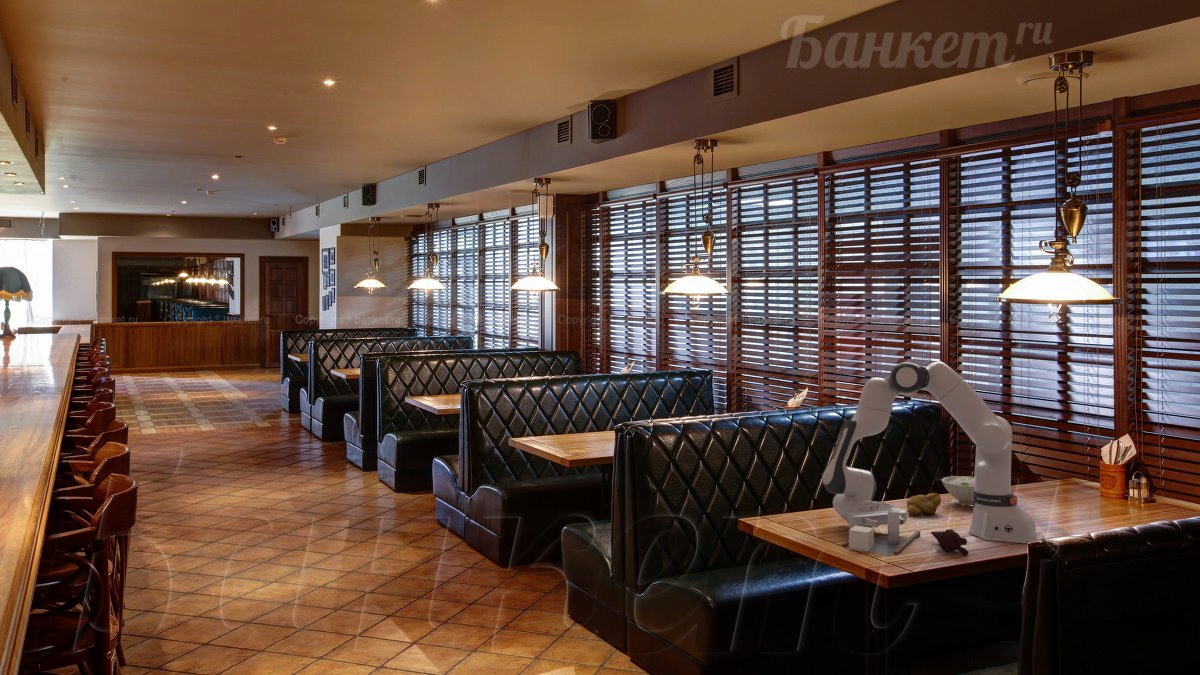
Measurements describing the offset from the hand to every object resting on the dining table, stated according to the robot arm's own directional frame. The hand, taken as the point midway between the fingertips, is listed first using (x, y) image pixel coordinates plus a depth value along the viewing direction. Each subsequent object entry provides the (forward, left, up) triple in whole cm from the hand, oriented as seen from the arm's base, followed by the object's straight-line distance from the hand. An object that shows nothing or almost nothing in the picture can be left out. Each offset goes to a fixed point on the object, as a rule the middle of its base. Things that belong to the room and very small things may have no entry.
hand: (889, 523), depth 290 cm
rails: (+2, 0, -7) cm, 7 cm away
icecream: (-18, -3, -7) cm, 19 cm away
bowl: (-11, -70, -7) cm, 71 cm away
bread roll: (+1, -46, -7) cm, 47 cm away
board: (+2, +7, -7) cm, 10 cm away
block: (+5, +12, -6) cm, 15 cm away
